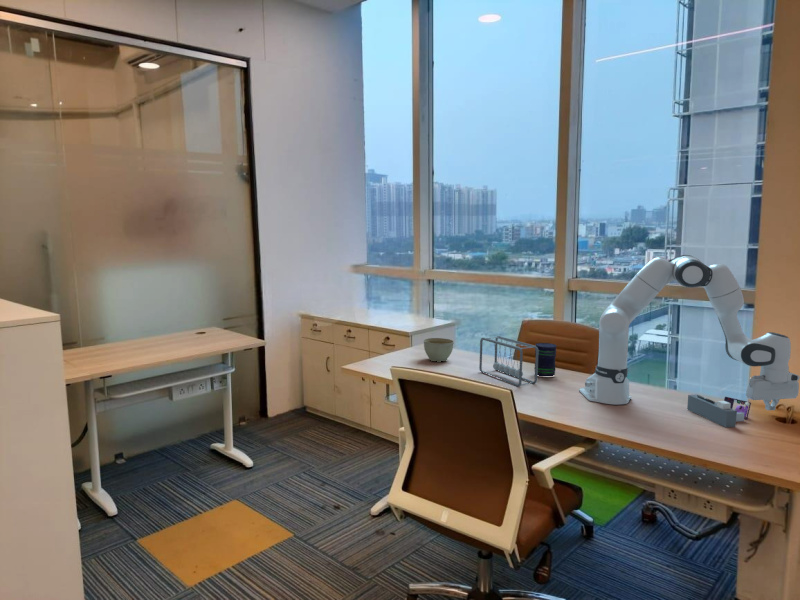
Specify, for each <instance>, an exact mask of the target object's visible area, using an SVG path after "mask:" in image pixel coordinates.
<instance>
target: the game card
mask: <svg viewBox="0 0 800 600" xmlns="http://www.w3.org/2000/svg"><path fill="white" fill-rule="evenodd" d="M723 401H726V402H729V403H731V406H730V408H731V409H734V403H735V401H736V404H739V405H736V407H735V409H734V410H736V411H737V413H741V412H743V413H744V421H746V420H748V419H749V418H748V417H749V415H750V409H751V405H752V402H751V401H746V400H742V399H737V398H732V397H729V396H724V399H723ZM745 417H746V418H745Z"/></svg>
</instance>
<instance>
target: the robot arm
mask: <svg viewBox="0 0 800 600" xmlns="http://www.w3.org/2000/svg"><path fill="white" fill-rule="evenodd" d="M675 281H676V282H677V283H678V284H679V285H681V286H683V287H685V288H698V287H699V288H700V287H702V288H703V289H704V290H705V293H706V296H707V298H708V300H709V302H710V304H711V306H712V308H713V310H714V311H715V313H716V315H717V319H718V321H719V324H720V326H721V329H722V332H723V335H724V338H725V352H726V355H728V357H729V358H730V359H732V360H735V361H738V362H740V363H742V364H744V365H745V366H749V367H760V373H759V375H753V376H752V377H750V378H749V379H748V383H747V386H746V387H747V388H746V393H745V396H746V398H747V399H748V400H749V399H750V400H751V401H763V403H764V405H765V407H764V408H765V410H766V411H776V406H778V404H779V403H780V400H788V399H791V400H792V399H796V398H797V397H798V396H799V391H800V390H799V389H800V384H799V381H800V375H799V374H796V373H793V372H791V371H790V367H789V363H790V362H789V361H790V359H791V352H792V351H791V349H792V345H791V339H790V338H789V337H788V336H787V335H785V334H781V333H777V332H772V331H769V332H766V333H765V334H764V335H762V336H759V337H757V338H754V339H751V338H750V337H748V336H747V335H746V334H745V333H744V332H743V328H742V327H741V324H740V321H739V318H738V314H737V313H738V311H740V310H741V309H742V308H743V306H744V304H745V300H744V295H743V291H742V289H741V286H740V285H739V283H738V281H737V279H736V277H735V275H734V274H733V272H732V271H731V269H730V268H729V267H728V266H727V265H726V264H723V263H715V264H710V265H706V264H705V263H704V262H702V261H701V260H700V259H698V258H697V257H695V256H692V255H690V254H683V255H679V256H677V257H674V258H672V259H669V260H668V259H666V258H663V257H660V256H659V257H654V258H652V259H651V260H650V261H649V262H647V263H646V264H645V265H644V266H643V267H642V268H640V269H639V271H638V272H636V274H635V275H634V277H632V278H631V279H630V281H628V283H627V284H626V286H625V287H624V288H623V289H622V290H621V291H620V293H618V295H617V296H615V298H614V299H613V300H612V301H611V303H610V304H609V305H607V307H606V308H605V310H604V311H603V312H602V313H601V315H600V318H599V325H598V326H599V327H598V360H597V364H595V365H594V368H595V370H594V373H593V374H591V375H590V376H589V377H587V378H586V379H585V382H584V387H581V388H579V390H578V391H579V393H581V394H582V395H583V396H584V398H586V399H587V400H588V401H590V402H595V403H596V402H597V403H601V404H606V405H615V406H616V405H626V404H628V403H629V402H630V401H631V400H632V396H631V395H630V380H629V379H628V378H627V377H628V373H629V371H628V370H629V368H628V352H629V329H630V324H631V323H632V322H633V321H634V320H635V319H636V318H637V317H638V316H639V315H640V313H642V312H643V310H645V309H647V307H648V306H649V304H650V303H651V302H653V300H654V299H655V298H656V297H657V295H659V293H660V292H661V291H662V290H663V289H664V288H665V286H667V285H668V284H670V283H671V282H675ZM630 399H631V400H630Z"/></svg>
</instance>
